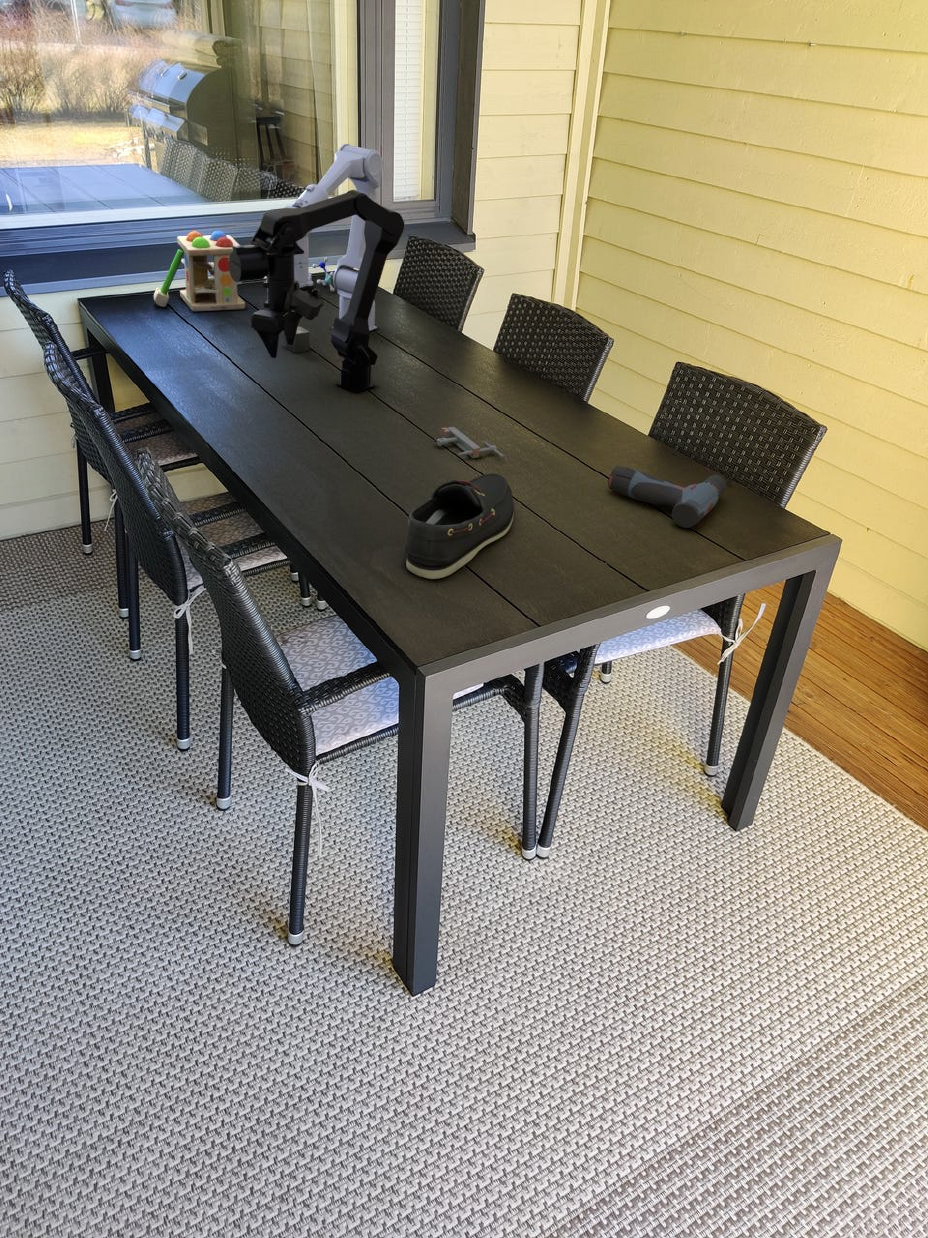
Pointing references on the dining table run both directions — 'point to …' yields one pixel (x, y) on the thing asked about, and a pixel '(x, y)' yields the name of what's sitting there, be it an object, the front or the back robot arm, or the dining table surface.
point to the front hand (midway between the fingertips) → (282, 350)
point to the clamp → (464, 443)
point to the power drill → (669, 493)
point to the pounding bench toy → (204, 273)
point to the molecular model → (328, 276)
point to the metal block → (299, 341)
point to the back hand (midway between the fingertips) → (297, 318)
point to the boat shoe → (457, 524)
